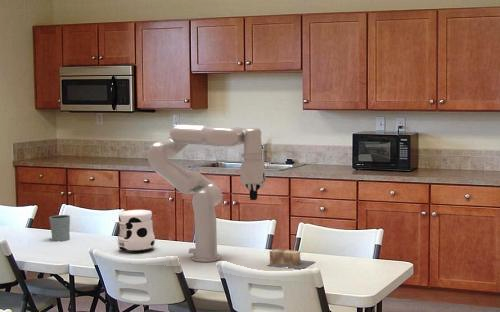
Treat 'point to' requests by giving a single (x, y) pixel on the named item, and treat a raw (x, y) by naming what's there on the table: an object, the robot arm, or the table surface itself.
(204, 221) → the robot arm
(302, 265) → the charcoal mat
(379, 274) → the table surface
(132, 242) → the milk container
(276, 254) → the maple block
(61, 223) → the grey cup
